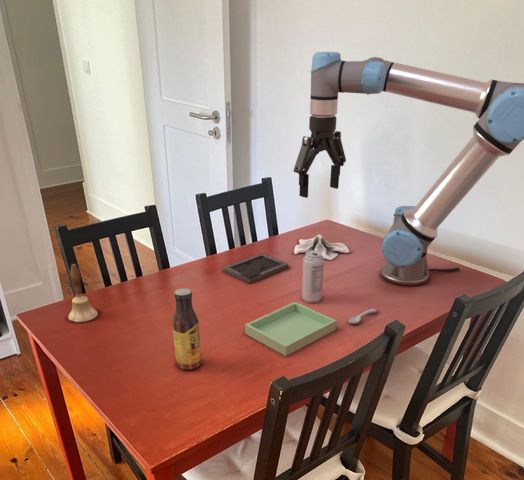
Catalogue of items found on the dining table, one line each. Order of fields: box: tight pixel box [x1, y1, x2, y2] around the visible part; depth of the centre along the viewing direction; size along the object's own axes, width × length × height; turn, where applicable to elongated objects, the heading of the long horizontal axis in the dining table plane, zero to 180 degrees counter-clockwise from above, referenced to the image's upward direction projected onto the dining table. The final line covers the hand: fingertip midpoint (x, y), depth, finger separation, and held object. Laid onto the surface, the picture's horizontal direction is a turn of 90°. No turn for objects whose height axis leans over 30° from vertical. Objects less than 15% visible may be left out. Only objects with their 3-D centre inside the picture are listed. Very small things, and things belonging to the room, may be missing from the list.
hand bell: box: [67, 263, 99, 323], centre depth 150 cm, size 8×8×16 cm
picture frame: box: [222, 252, 289, 284], centre depth 181 cm, size 13×2×18 cm
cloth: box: [293, 233, 351, 261], centre depth 195 cm, size 22×19×6 cm
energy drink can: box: [301, 250, 325, 304], centre depth 158 cm, size 6×6×15 cm
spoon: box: [348, 308, 378, 325], centre depth 151 cm, size 3×12×2 cm, turn 135°
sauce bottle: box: [172, 287, 202, 371], centre depth 127 cm, size 6×6×20 cm
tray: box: [244, 301, 337, 357], centre depth 145 cm, size 20×16×3 cm
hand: (319, 192), depth 159 cm, fingers open, 13 cm apart
